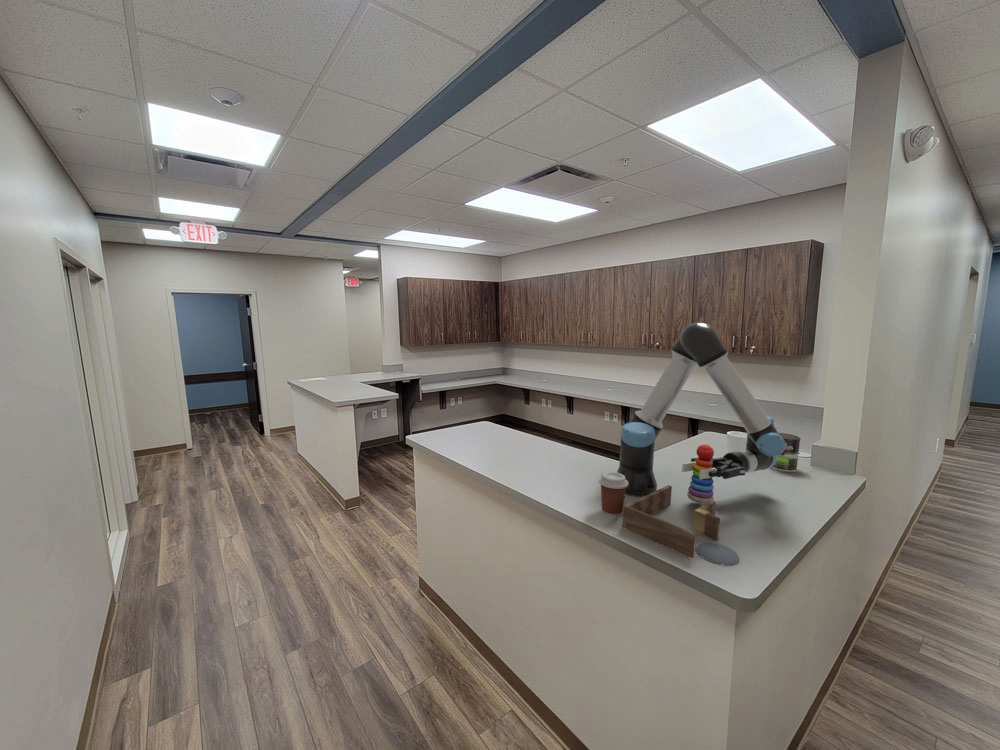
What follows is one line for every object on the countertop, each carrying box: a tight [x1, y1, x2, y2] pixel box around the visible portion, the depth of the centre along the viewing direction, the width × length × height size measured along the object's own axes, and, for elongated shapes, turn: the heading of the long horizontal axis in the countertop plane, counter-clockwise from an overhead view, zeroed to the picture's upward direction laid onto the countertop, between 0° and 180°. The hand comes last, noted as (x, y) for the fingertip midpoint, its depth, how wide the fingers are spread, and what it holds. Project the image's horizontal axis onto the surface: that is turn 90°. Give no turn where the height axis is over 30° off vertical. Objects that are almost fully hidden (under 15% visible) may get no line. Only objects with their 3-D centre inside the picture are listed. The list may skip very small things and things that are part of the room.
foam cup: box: [726, 431, 747, 453], centre depth 175 cm, size 10×9×13 cm
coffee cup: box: [598, 471, 629, 517], centre depth 127 cm, size 9×9×12 cm
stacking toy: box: [687, 444, 715, 505], centre depth 131 cm, size 8×8×19 cm
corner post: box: [692, 507, 710, 537], centre depth 115 cm, size 3×3×6 cm
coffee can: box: [769, 432, 802, 473], centre depth 169 cm, size 10×10×14 cm
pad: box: [695, 541, 740, 566], centre depth 104 cm, size 10×10×1 cm
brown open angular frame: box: [621, 484, 721, 559], centre depth 118 cm, size 26×21×6 cm
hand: (691, 471), depth 129 cm, fingers closed on stacking toy, 6 cm apart
